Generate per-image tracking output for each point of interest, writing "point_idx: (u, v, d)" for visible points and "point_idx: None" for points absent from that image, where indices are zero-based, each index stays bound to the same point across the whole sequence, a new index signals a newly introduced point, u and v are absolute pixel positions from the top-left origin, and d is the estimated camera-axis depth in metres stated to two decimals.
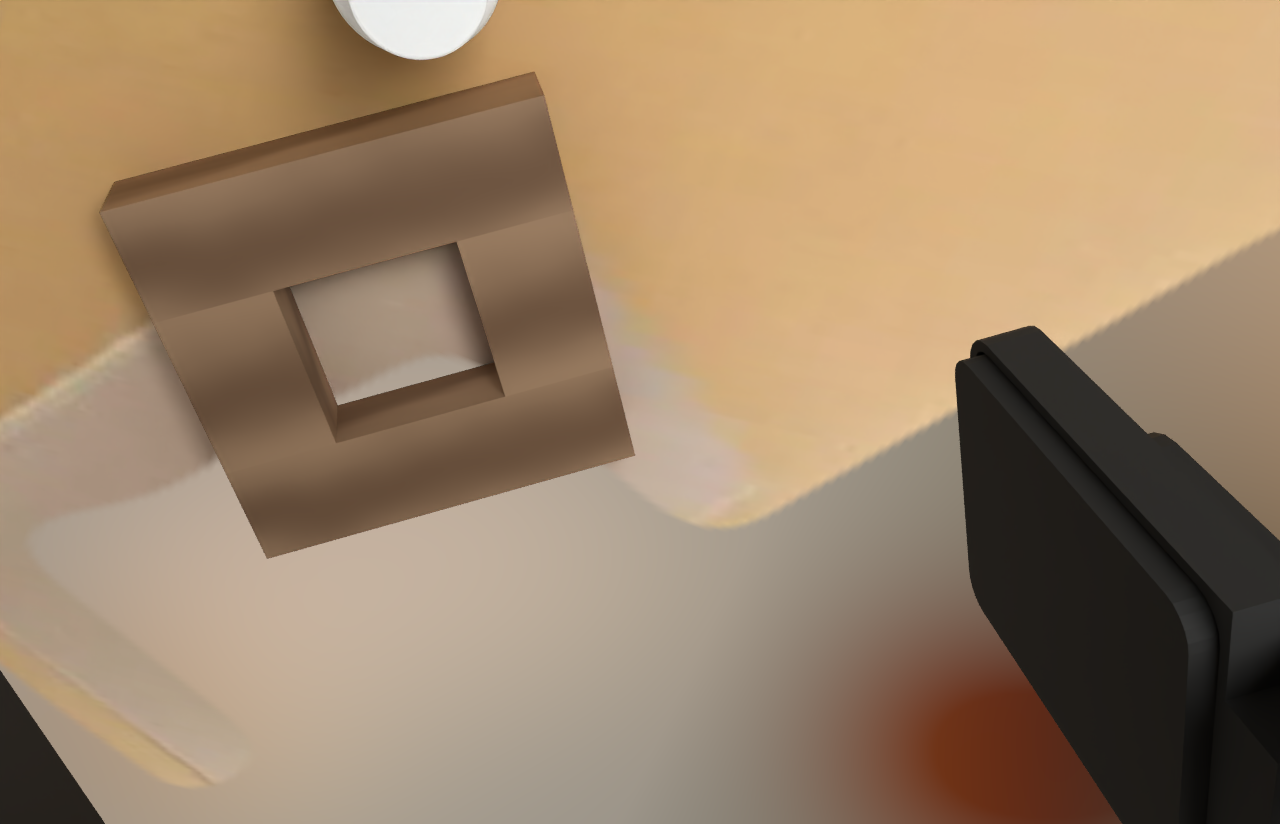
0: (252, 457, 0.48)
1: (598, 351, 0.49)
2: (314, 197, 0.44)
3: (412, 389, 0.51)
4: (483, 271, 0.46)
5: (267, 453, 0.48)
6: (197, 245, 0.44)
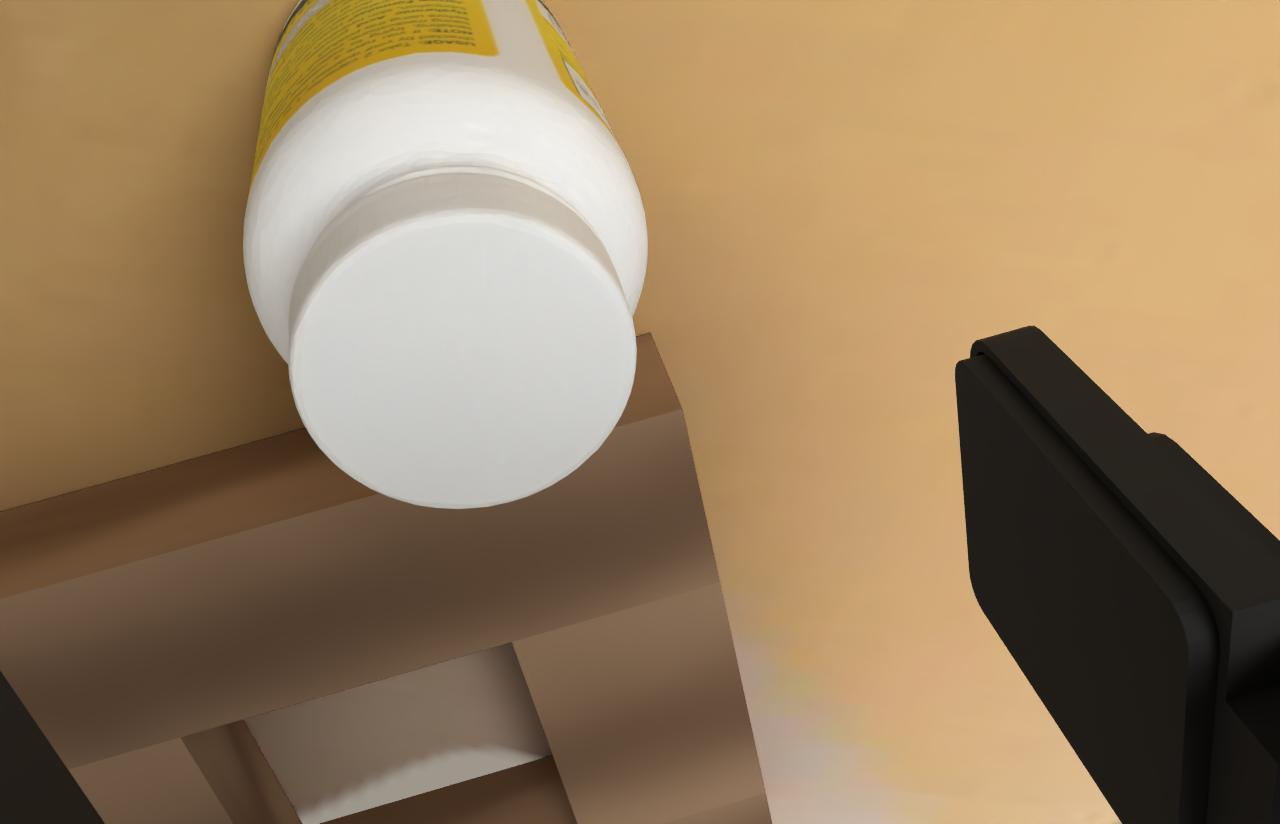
0: None
1: (744, 774, 0.29)
2: (251, 594, 0.23)
3: (426, 803, 0.31)
4: (556, 681, 0.26)
5: None
6: (34, 681, 0.23)
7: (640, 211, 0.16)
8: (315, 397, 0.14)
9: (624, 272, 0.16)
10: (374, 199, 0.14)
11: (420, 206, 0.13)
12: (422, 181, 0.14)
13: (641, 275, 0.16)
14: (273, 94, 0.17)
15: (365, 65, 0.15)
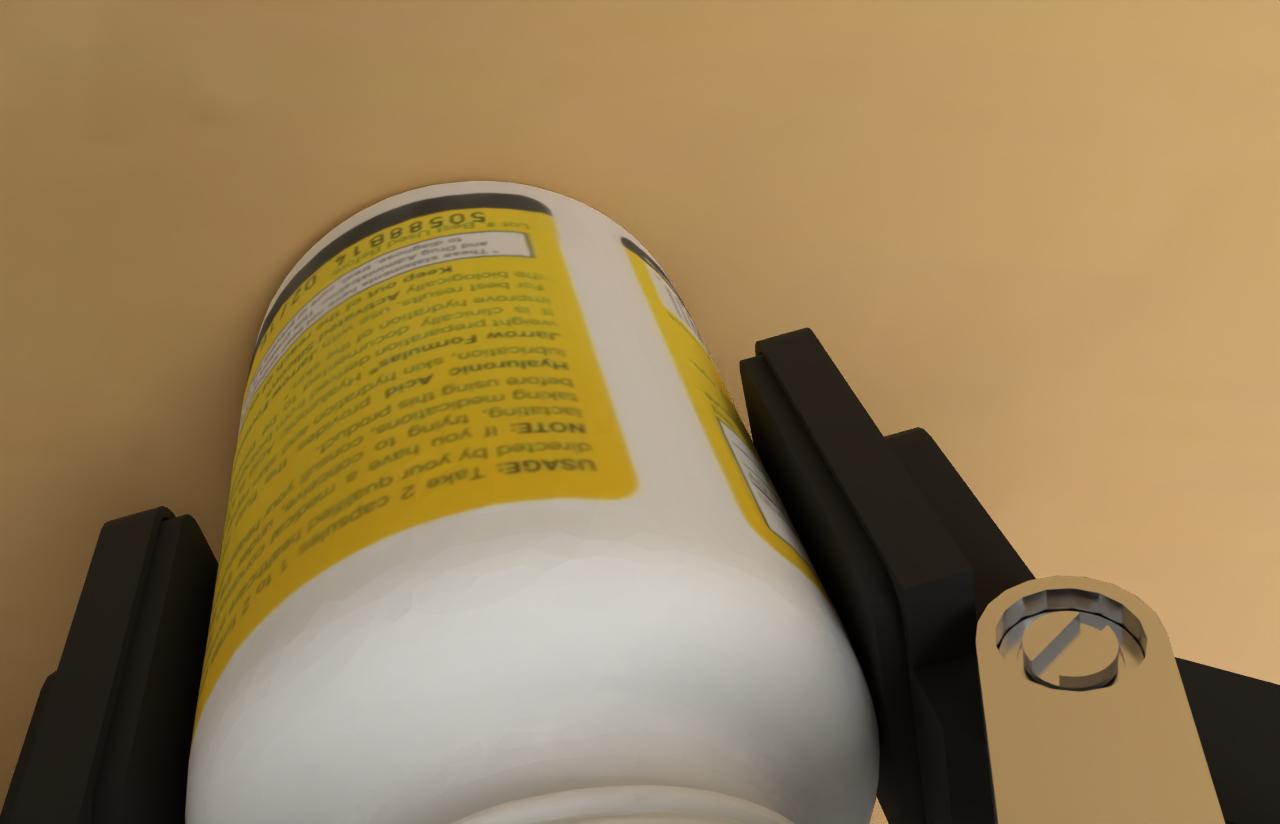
0: None
1: None
2: None
3: None
4: None
5: None
6: None
7: (875, 730, 0.09)
8: None
9: None
10: None
11: None
12: None
13: None
14: (246, 484, 0.11)
15: (403, 525, 0.08)
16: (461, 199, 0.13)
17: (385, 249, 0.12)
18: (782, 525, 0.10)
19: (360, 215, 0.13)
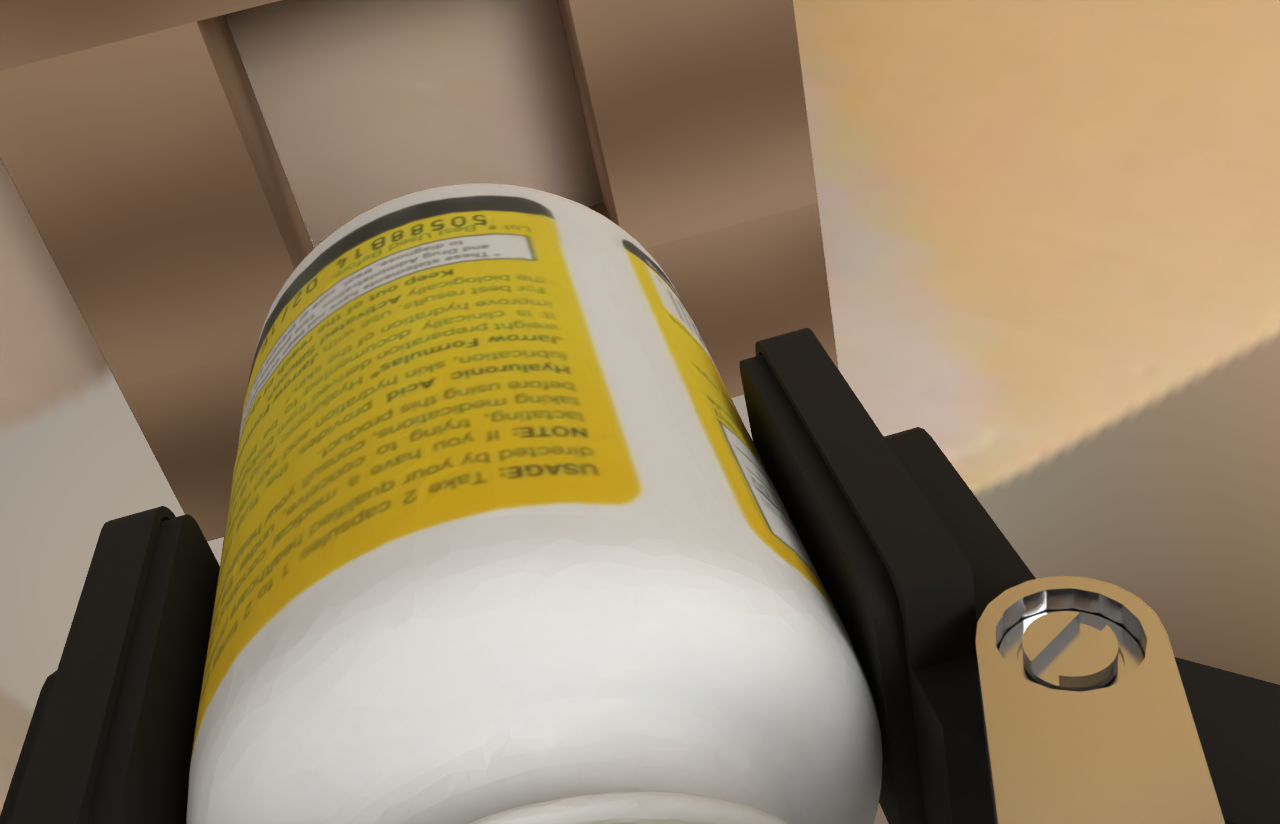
0: (167, 358, 0.27)
1: (795, 171, 0.27)
2: None
3: None
4: (599, 0, 0.24)
5: (195, 351, 0.27)
6: None
7: (878, 735, 0.09)
8: None
9: None
10: None
11: None
12: None
13: None
14: (248, 487, 0.11)
15: (405, 530, 0.08)
16: (462, 201, 0.13)
17: (387, 252, 0.12)
18: (784, 529, 0.10)
19: (361, 216, 0.13)
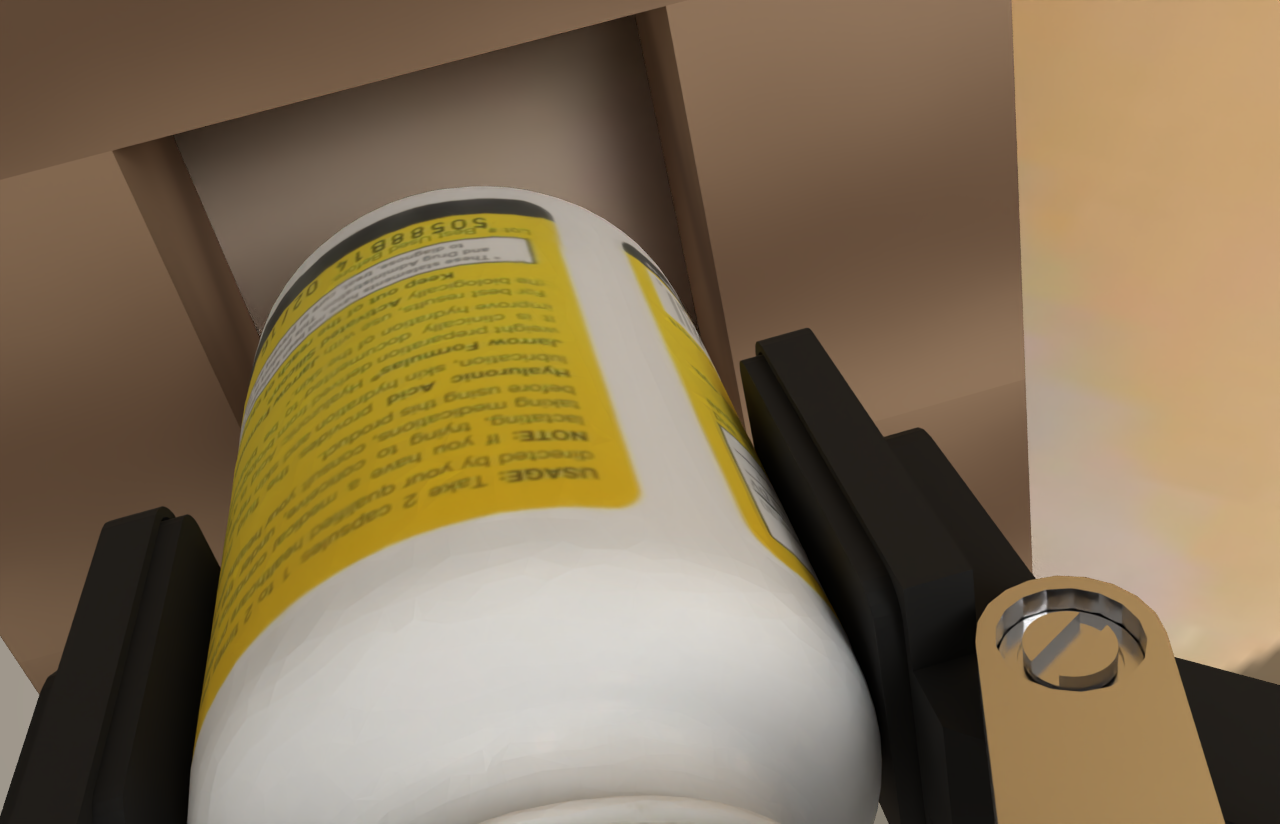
0: None
1: (998, 338, 0.19)
2: None
3: None
4: (731, 105, 0.16)
5: None
6: None
7: (878, 738, 0.09)
8: None
9: None
10: None
11: None
12: None
13: None
14: (248, 490, 0.11)
15: (404, 533, 0.08)
16: (463, 204, 0.13)
17: (387, 255, 0.12)
18: (784, 532, 0.10)
19: (362, 219, 0.13)
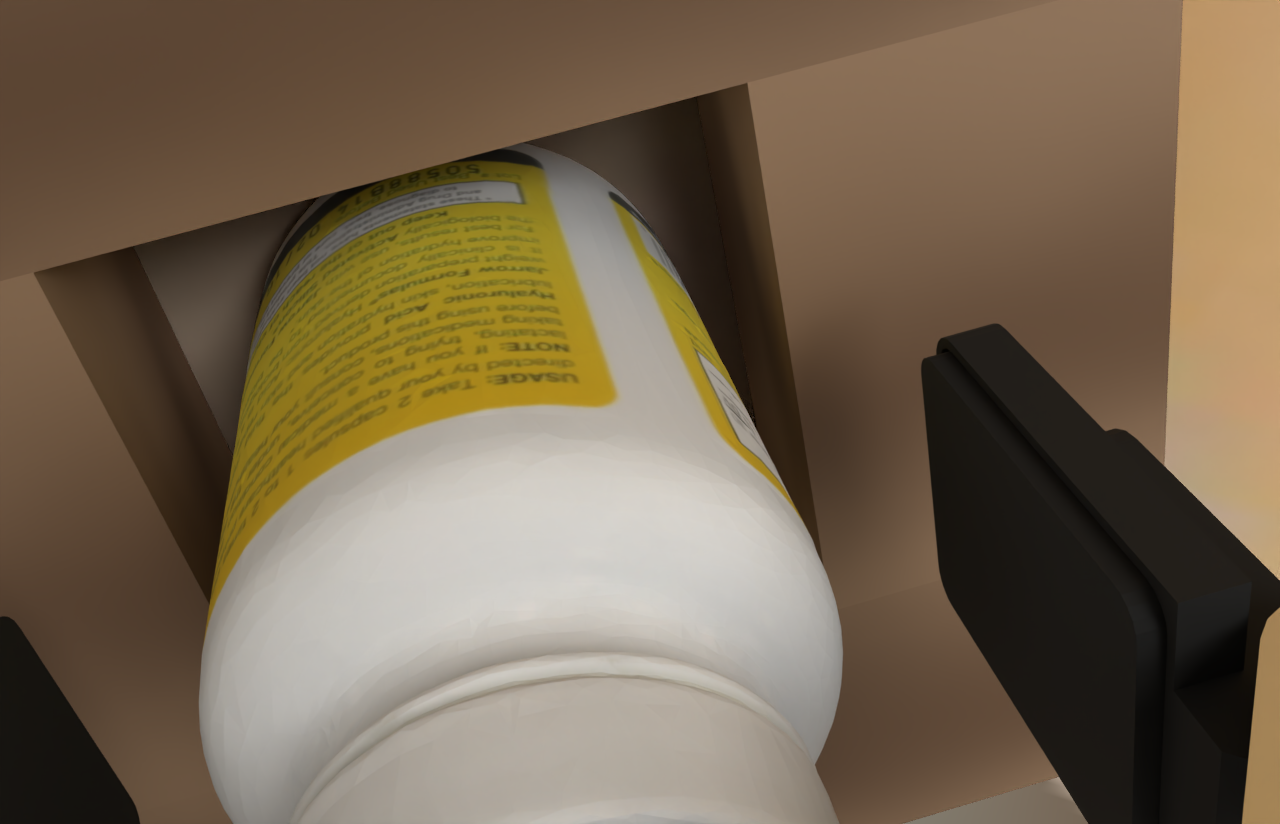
0: None
1: None
2: None
3: None
4: (825, 204, 0.13)
5: None
6: None
7: (838, 629, 0.10)
8: None
9: (813, 729, 0.10)
10: (420, 741, 0.07)
11: (508, 790, 0.07)
12: (507, 706, 0.07)
13: (833, 718, 0.10)
14: (255, 409, 0.11)
15: (398, 429, 0.09)
16: None
17: (385, 197, 0.13)
18: (753, 443, 0.11)
19: None
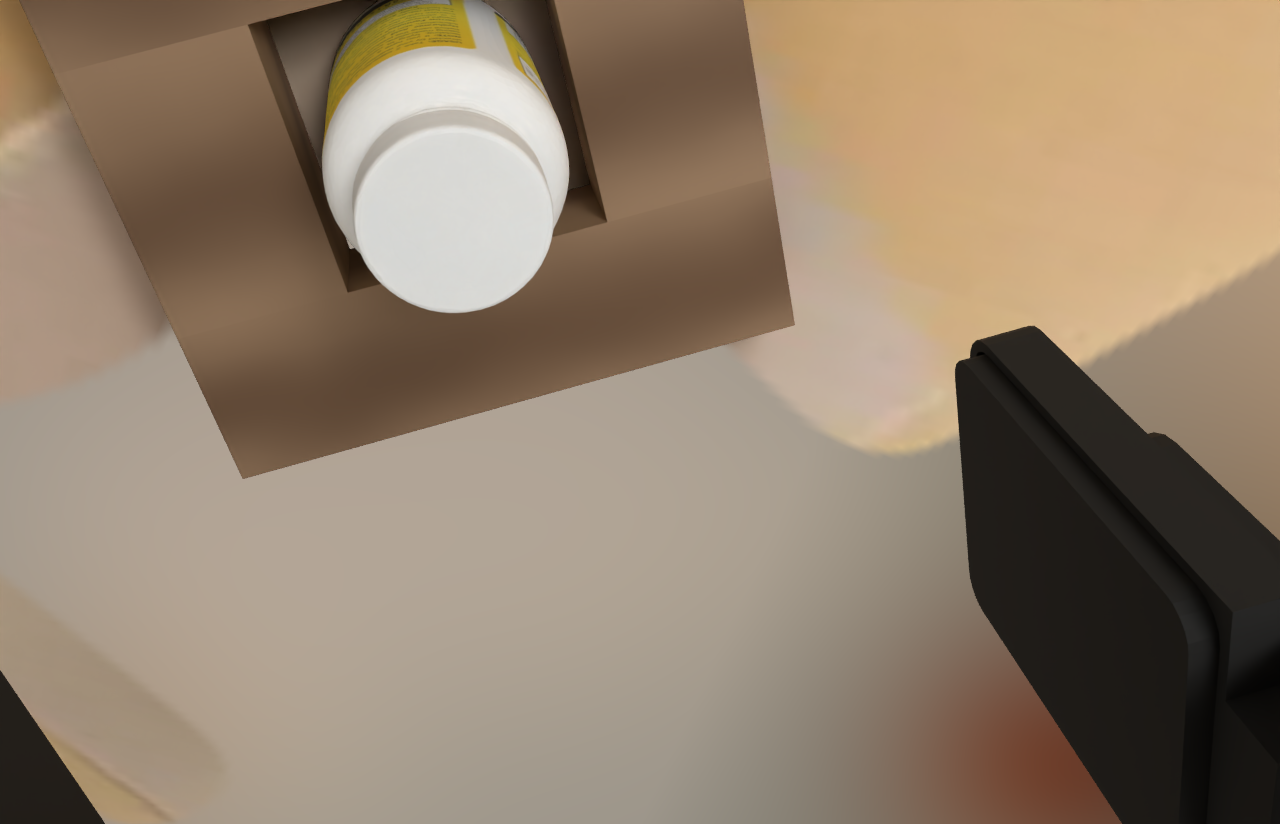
0: (218, 312, 0.31)
1: (751, 150, 0.32)
2: None
3: None
4: (581, 5, 0.29)
5: (241, 306, 0.31)
6: None
7: (562, 143, 0.26)
8: (367, 236, 0.24)
9: (552, 180, 0.26)
10: (402, 124, 0.24)
11: (428, 124, 0.23)
12: (429, 113, 0.24)
13: (564, 183, 0.27)
14: (338, 78, 0.28)
15: (396, 54, 0.26)
16: None
17: (391, 5, 0.30)
18: (534, 80, 0.27)
19: (380, 0, 0.31)
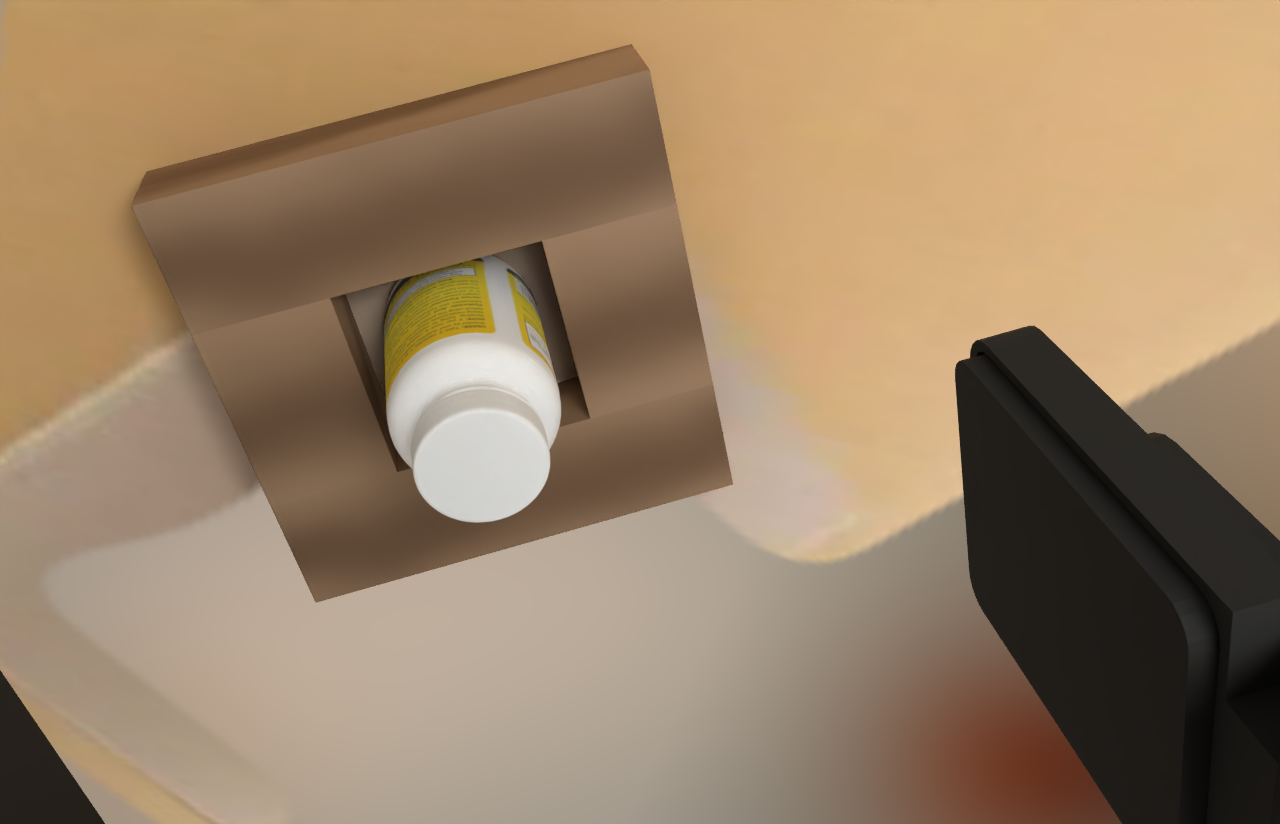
0: (301, 488, 0.42)
1: (697, 366, 0.43)
2: (381, 189, 0.37)
3: None
4: (570, 275, 0.40)
5: (319, 484, 0.42)
6: (244, 245, 0.37)
7: (556, 394, 0.37)
8: (422, 477, 0.35)
9: (549, 421, 0.37)
10: (446, 401, 0.35)
11: (464, 406, 0.34)
12: (464, 394, 0.35)
13: (557, 421, 0.38)
14: (395, 338, 0.39)
15: (440, 338, 0.36)
16: None
17: (431, 273, 0.40)
18: (536, 346, 0.38)
19: None
